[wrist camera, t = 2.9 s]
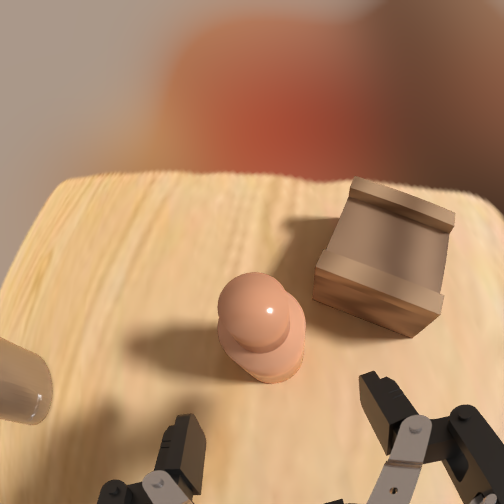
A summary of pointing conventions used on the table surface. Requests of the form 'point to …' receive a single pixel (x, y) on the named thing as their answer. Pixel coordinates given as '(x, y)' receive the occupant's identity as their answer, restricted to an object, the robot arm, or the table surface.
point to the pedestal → (386, 258)
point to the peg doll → (261, 327)
